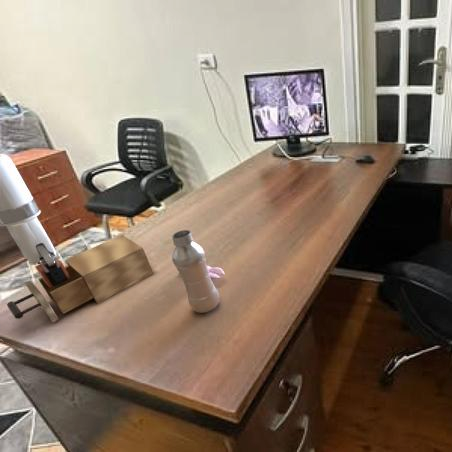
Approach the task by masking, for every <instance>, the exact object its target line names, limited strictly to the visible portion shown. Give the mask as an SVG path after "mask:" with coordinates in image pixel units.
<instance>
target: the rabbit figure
mask: <svg viewBox="0 0 452 452" xmlns="http://www.w3.org/2000/svg"><path fill="white" fill-rule="evenodd" d="M207 269H208V272H209V276H210V278H211V279H212V278H214V279H221V276H219V275H222V276H225V272H224V270H223V269H222V268H220V267H216V266H215V267H211V266H209V265H207ZM178 275H179V276H181V275H180V273H179V272H178Z"/></svg>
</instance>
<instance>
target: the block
mask: <svg viewBox="0 0 452 452" xmlns="http://www.w3.org/2000/svg"><path fill="white" fill-rule="evenodd" d="M54 258H55V259H56V261H57V262H58V264H59V265H60V266H61V268H62V269H63V271H64V273H65V274H66V276H67V278H68V279H69V278H71V277H70V276H69V274H68V272H67V270H66V269H65V265H64V263H63V262H62V261H61V260H60V259H59V258H58V257H54ZM44 264H47V263H46V262H44ZM45 266H46V265H45ZM34 268H35V269H36V271H37V272H38V275H40V278H41V277H42V279H43V280H44V282H45V283H46V284H47V285H48V286H49V287H52V284H51V283H50V281H49V280H48V278H47V276H46V275H45V273H44V272H45V270H44V269H43V267H42V266H41V264H36V265H34Z"/></svg>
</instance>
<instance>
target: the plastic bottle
mask: <svg viewBox="0 0 452 452" xmlns="http://www.w3.org/2000/svg"><path fill="white" fill-rule="evenodd" d="M171 238H172V241H173V246H174V247H175V248H174V250H173V252H172V254H171V259H172V263H173V265H174V267H175V269H176V270H177V271H178V274H179V273H180V275H179V276H181V279H182V281H183V283H184V286H185V290H186V294H187V300H188V304H189V306H190V308H191V309H192V310H193V311H194V312H196V313H199V314H203V313H208V312H210V311H212V310H214V309H215V308H216V307H217V306H218V304H219V303H220V293H219V291H218V289H217V288H216V286H215V284H214V282H213V280H212V278H210V276H209V272H208V269H207V266H208V265H207V259H206V252H205V249H204V248H203V247H202V246H201V245H199V244H198V243H196V242H195V241H194V236H193V235H192V232H191V230H189V229H182V230H179V231H176V232H175V233H173V234H172V236H171Z"/></svg>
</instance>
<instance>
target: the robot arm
mask: <svg viewBox="0 0 452 452" xmlns="http://www.w3.org/2000/svg"><path fill="white" fill-rule="evenodd" d="M23 179H24V178H23V177H22V175H21V174H20V171H19V170H18V169H17V166H16V165H15V163H14V162H13V160H12V158H11V157H10V156H9V155H7V154H5V153H0V227H6V230H7V231H8V233H9V234H10V236H11V237H12V239H13V241H14V243H15V244H16V245H17V248H18V249H19V251H20V252H21V254H22V255H23V257H24V258H25V259H26V261H28V263H30V264H31V265H32V266H37V265H40V264H41V266H42V267H43V269H44V270H45V272H44V273H45V275H46V276H47V278H48V280H49V281H50V283H51V284H52V286H56V285H58V284H60V283H62V282H64V281H66V280H68V278H67V276H66V274H65V273H64V271H63V269H62V268H61V266H60V265H59V264H58V262H57V261H56V259H55V258H56V256H57V253H58V252H57V251H56V249H55V247H54V245H53V243H52V241H51V239H50V237H49V236H48V234H47V232H46V231H45V229H44V227H43V225H42V223H41V221H40V220H39V218H38V216H39V215H40V214H41V212H42V210H41V209H40V207H39V206H38V204H37V202H36V200H35V199H34V197H33V195H32V193H31V191H30V189H29V188H28V187H27V185H26V183H25V181H24V180H23ZM44 262H46V263H47V264H44ZM45 265H46V266H45Z"/></svg>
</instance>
